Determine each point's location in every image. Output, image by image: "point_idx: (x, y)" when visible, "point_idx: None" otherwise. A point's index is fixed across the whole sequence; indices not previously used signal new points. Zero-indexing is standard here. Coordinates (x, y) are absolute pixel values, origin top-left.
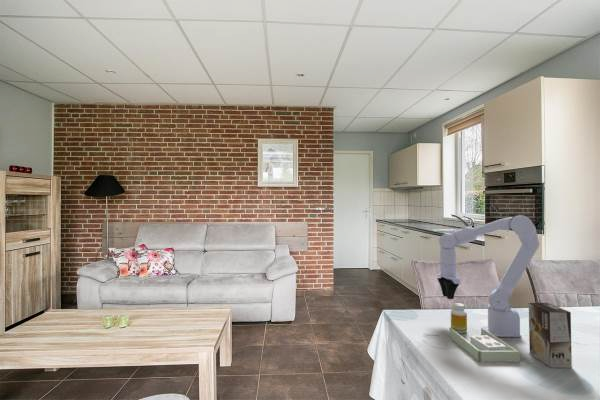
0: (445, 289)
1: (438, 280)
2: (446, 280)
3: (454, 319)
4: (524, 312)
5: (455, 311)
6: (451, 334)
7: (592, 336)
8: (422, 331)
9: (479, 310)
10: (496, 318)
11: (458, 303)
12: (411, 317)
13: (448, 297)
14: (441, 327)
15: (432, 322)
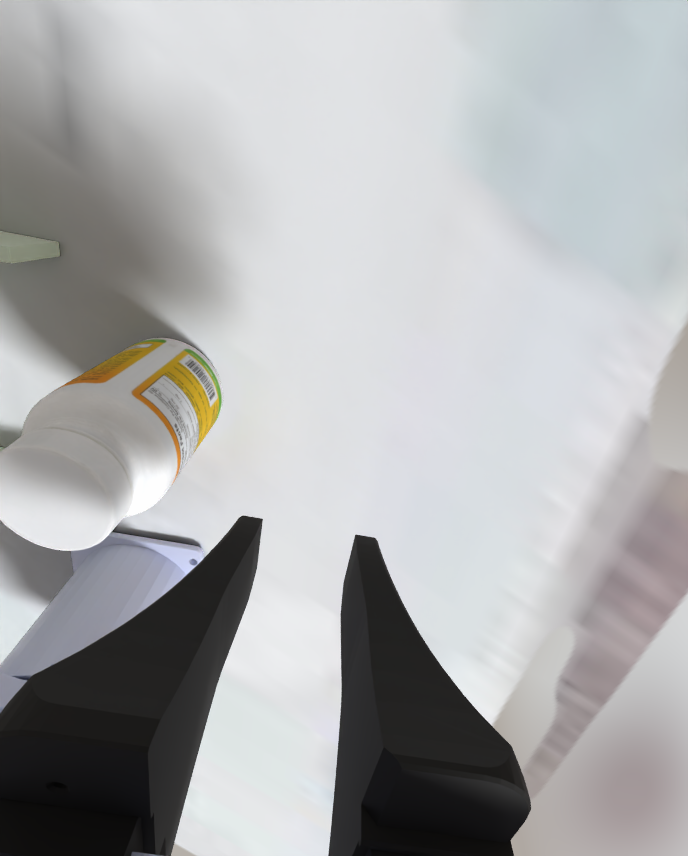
0: (354, 630)
1: (468, 731)
2: (347, 822)
3: (90, 370)
4: None
5: (46, 413)
6: (4, 237)
7: None
8: (147, 26)
9: (472, 701)
10: (32, 628)
11: (89, 524)
12: (517, 147)
13: (233, 531)
14: (236, 295)
15: (349, 289)
